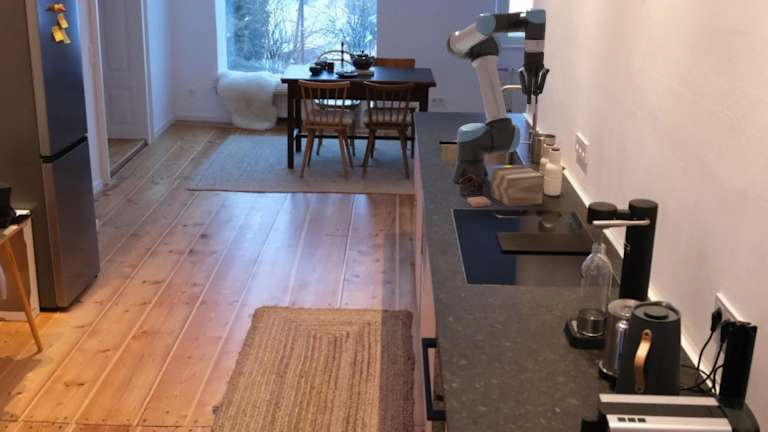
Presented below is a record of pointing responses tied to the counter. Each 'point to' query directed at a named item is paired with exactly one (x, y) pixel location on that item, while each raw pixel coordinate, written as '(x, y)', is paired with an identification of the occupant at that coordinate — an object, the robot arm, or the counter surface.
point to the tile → (478, 201)
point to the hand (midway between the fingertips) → (531, 112)
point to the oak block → (517, 185)
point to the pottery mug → (471, 184)
